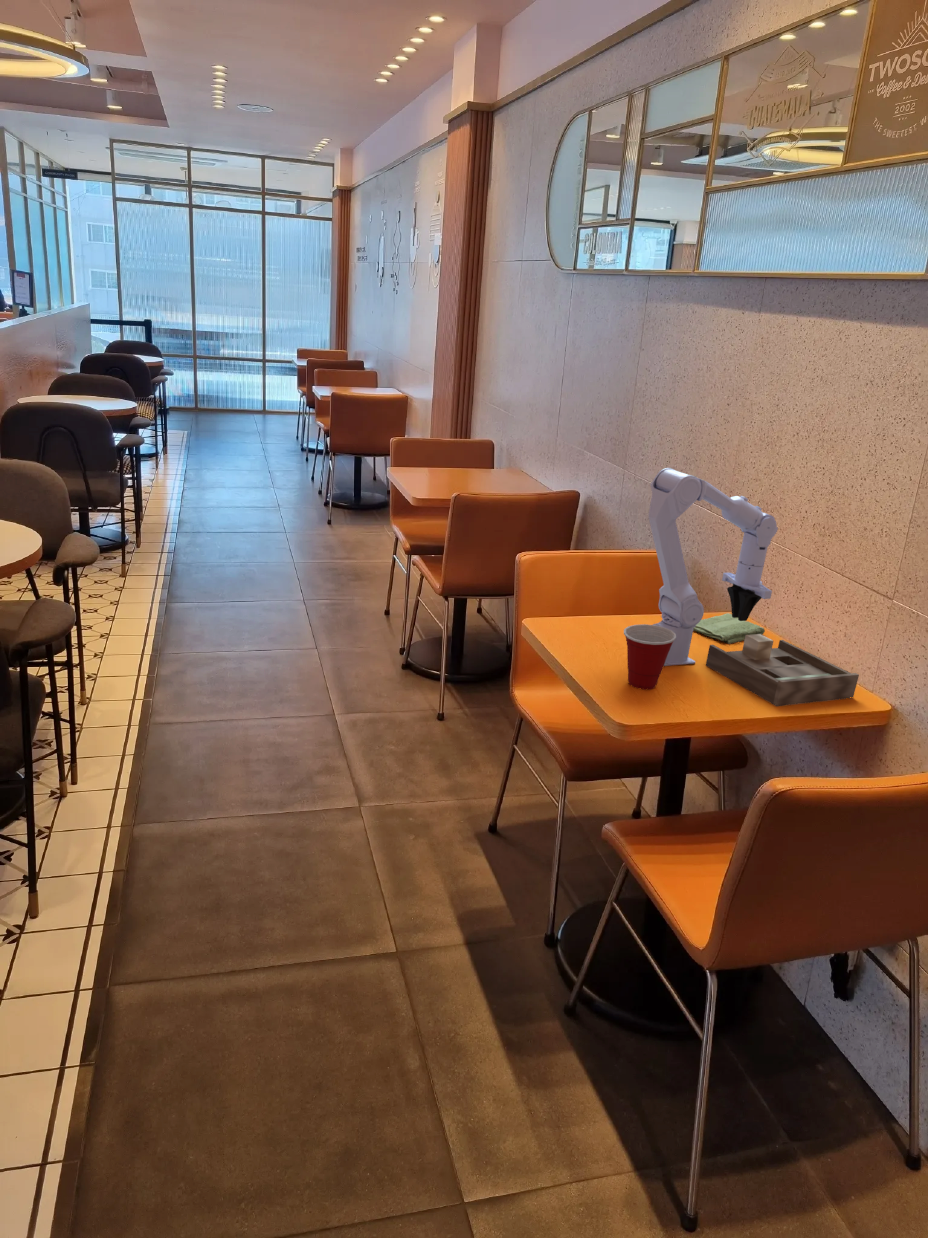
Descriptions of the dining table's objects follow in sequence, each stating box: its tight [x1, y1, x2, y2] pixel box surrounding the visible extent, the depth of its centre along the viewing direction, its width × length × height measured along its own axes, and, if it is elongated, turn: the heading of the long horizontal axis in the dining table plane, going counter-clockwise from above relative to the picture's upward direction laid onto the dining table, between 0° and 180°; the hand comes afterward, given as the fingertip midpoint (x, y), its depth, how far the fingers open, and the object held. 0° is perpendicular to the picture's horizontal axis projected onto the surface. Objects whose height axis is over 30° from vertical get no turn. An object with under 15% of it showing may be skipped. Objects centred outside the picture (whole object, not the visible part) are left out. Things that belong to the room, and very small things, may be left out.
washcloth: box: [693, 612, 766, 645], centre depth 231 cm, size 13×18×3 cm
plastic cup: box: [623, 623, 676, 691], centre depth 189 cm, size 11×11×12 cm
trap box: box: [705, 639, 860, 707], centre depth 200 cm, size 22×23×6 cm
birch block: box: [741, 634, 774, 660], centre depth 206 cm, size 4×4×4 cm
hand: (739, 618), depth 211 cm, fingers closed
